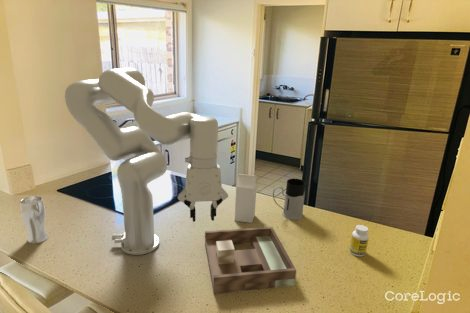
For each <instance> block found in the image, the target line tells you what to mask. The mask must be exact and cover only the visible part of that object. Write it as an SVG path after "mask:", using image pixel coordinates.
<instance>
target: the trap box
mask: <svg viewBox="0 0 470 313" xmlns="http://www.w3.org/2000/svg"><path fill="white" fill-rule="evenodd" d="M227 240H232V243H233V246H235V245H244V244H245V245H246V244H250V246H251V249H249V248H247V249H238V250H235V252H234V263H230V264H218V262H217V258H216V241H227ZM204 246H205V253H206V260H207V264H208V269H209V274H210V281H211V287H212V293H213V295H217V294H227V293H234V292H246V291H255V290H266V289H274V288H287V287H294V286H295V284H296V277H297V275H296V274H297V269H296V267H295V265H294V263H293V262H292V259H291V258H290V256H289V255H288V253H287V251H286V249H285V248H284V245H283V244H282V242H281V240H280V239H279V236H278V235H277V233H276V231H275V230H274V228H273V226H267V227H266V226H265V227H264V226H263V227H253V228H251V227H250V228H236V229H235V228H233V229H222V230H206V231H204Z"/></svg>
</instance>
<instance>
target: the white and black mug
mask: <svg viewBox="0 0 470 313" xmlns="http://www.w3.org/2000/svg"><path fill="white" fill-rule="evenodd" d="M306 184H307V183H306V181H305V180H303V179H300V178H289V179H287V180H286V189H285V191H284V188H283V187H282V186H280V185H277V186H275V187H274V188H273V191H272V197H273V200H274V203H275V204H276V205H277V206H278V207H279V208H281V209H282V210H283V211H282V214H281V215H282V217H284V218H285V219H287V220H291V221H300V220H302V219H303V218H304V214H303V212H304V204H305V203H304V202H305V194H306ZM278 188H281V191H282V192H281V194H282V196H284V203H283V207H282V206H281V205H280V204H278V202H277V201H276V199H275V191H276V190H277V189H278ZM284 192H285V193H284Z"/></svg>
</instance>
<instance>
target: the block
mask: <svg viewBox="0 0 470 313" xmlns="http://www.w3.org/2000/svg"><path fill="white" fill-rule="evenodd" d="M234 252H235V245H233V243H232V240H227V241H216V258H217V262H218V264H230V263H234Z"/></svg>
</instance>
